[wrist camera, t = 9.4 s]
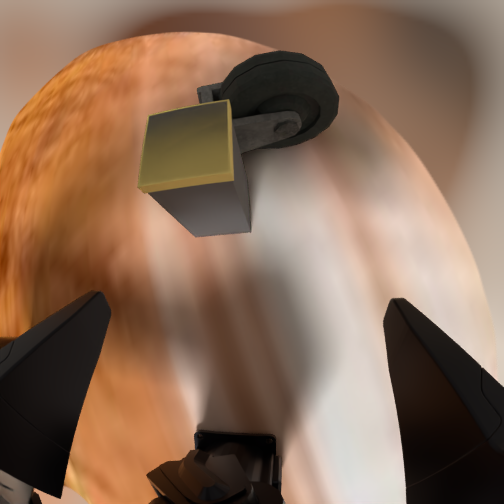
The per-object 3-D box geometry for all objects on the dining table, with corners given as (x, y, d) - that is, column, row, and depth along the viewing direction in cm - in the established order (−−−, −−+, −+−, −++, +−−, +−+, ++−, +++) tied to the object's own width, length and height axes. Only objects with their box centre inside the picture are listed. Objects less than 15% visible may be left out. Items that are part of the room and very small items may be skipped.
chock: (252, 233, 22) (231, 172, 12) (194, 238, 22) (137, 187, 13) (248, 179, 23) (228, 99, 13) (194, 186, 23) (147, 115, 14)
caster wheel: (313, 114, 25) (162, 134, 24) (333, 40, 16) (131, 63, 15) (329, 160, 24) (163, 184, 23) (363, 87, 14) (122, 115, 14)
